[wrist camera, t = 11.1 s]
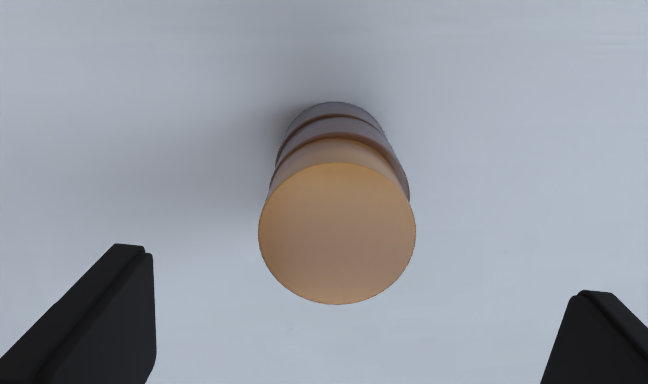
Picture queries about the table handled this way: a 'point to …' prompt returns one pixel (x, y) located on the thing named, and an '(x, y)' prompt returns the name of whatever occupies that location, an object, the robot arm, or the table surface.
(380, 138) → the pile chip top
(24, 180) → the table surface
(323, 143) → the copper brown cylinder
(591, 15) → the table surface
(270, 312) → the table surface
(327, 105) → the pile chip bottom
